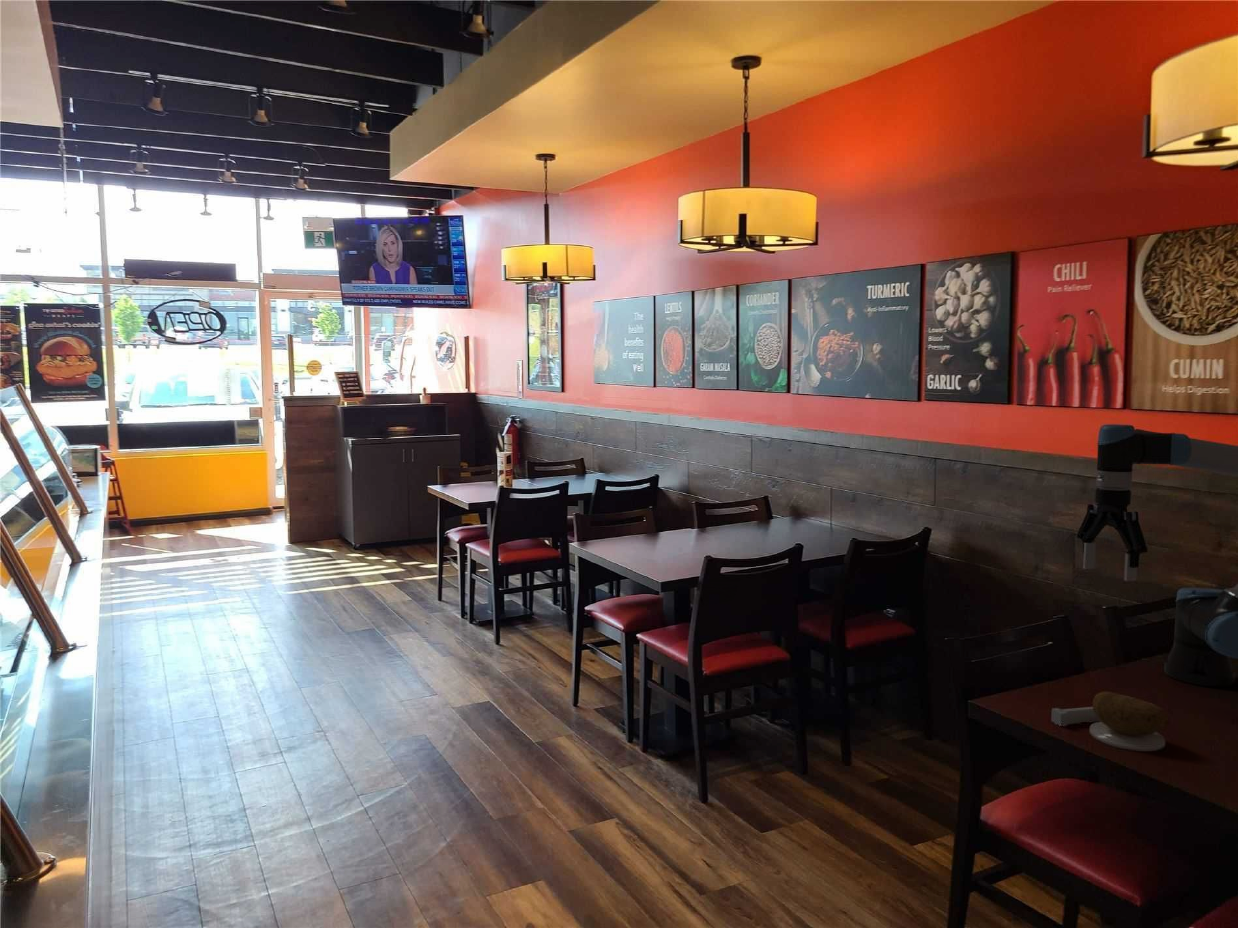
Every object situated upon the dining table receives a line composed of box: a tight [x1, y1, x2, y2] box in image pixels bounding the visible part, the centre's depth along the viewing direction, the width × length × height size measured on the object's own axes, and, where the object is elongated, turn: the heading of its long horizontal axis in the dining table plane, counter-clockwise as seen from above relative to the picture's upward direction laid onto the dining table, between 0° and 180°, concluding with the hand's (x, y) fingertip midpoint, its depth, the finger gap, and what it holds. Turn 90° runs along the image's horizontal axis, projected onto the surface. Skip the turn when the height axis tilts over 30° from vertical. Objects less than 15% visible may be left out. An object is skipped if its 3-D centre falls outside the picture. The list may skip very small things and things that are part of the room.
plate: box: [1089, 721, 1166, 752], centre depth 187 cm, size 14×14×1 cm
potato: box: [1092, 691, 1168, 736], centre depth 186 cm, size 10×14×8 cm
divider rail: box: [1050, 706, 1101, 727], centre depth 196 cm, size 24×3×3 cm, turn 101°
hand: (1108, 574), depth 214 cm, fingers open, 13 cm apart
